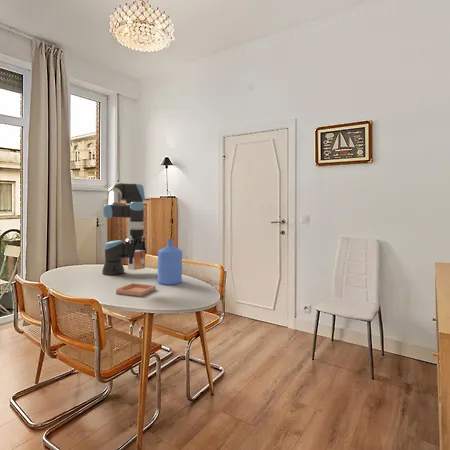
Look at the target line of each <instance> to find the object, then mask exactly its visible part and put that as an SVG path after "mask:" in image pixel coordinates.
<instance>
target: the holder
mask: <svg viewBox="0 0 450 450" xmlns="http://www.w3.org/2000/svg"><path fill="white" fill-rule="evenodd" d="M154 291H157V287H156V285H152V284H146V283H135V282H131V283H128V284H126V285H124V286H121V287H119V288H116V289H115V294H116V295H121V296H122V295H124V296H132V297H139V298H141V297H144V296H146V295H148V294H150V293H151V292H154Z"/></svg>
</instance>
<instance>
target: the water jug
mask: <svg viewBox="0 0 450 450" xmlns="http://www.w3.org/2000/svg"><path fill="white" fill-rule="evenodd" d="M173 240H174V239H171V238H170V239H169V238H168V239H167V245H166V246H164V247H162V248H160V249H159V250H158V251H157V282H158V284H160V285H164V286H165V285H166V286H168V285H169V286H172V285H178V284H181V283H182V281H183V278H182V276H183V275H182V274H183V250H182V249H180V248H179V247H176V246H175V245H173V243H174V241H173Z"/></svg>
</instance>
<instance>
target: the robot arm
mask: <svg viewBox="0 0 450 450" xmlns="http://www.w3.org/2000/svg"><path fill="white" fill-rule="evenodd" d="M144 189H145V187H144V186H143V184H141V183H123V182H121V183H116V184H114V185H112V186H110V187H109V188H108V189H107V192H106V197H107V204H104V205H103V207H102V208H103V217H104V218H115V219H116V218H117V219H118V218H123V219H125V218H127V238H125V240H124V242H123V241H122V240H119V239H117V240H110V241H107V242H105V244H104V265H103V268H102V270H101V271H102V272H101V273H102V275H105V276H119V275H123V274H125V267H124V264H123V259H128V258H129V269H128V270H130V271H135V270H134V258H133V257H134V252H135V250H144V251H145V256H146V255H147V247H146V238H145V237H143V236H144V235H145V233H144V232H145V231H144V228H145V227H144V225H145V223H144V221H145V219H144V218H145V217H144V215H145V206H144V205H145V204H144V202H145V201H146V197H145V196H146V195H145V190H144ZM121 201H125V204H121Z"/></svg>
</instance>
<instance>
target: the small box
mask: <svg viewBox="0 0 450 450" xmlns="http://www.w3.org/2000/svg"><path fill="white" fill-rule="evenodd" d="M133 258H134V270H133V271H135V270H142V269H144V270H145V268H146V255H145V251H144V250H135V252H134V257H133ZM127 269H128V270H130V269H129V258H127Z"/></svg>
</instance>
